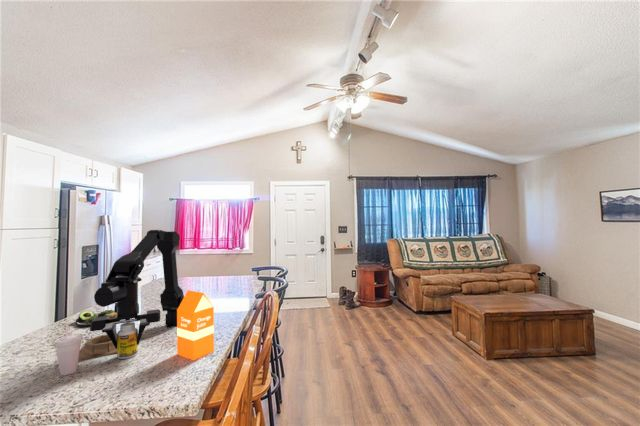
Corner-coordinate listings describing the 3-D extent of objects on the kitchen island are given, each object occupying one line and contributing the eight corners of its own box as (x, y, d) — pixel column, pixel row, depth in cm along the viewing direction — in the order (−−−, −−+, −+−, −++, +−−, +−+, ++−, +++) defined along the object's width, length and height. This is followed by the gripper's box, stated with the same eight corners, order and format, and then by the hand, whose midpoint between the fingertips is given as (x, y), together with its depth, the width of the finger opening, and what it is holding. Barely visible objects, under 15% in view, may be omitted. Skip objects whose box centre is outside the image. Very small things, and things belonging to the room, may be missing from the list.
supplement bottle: (116, 361, 92) (116, 328, 92) (117, 354, 97) (117, 323, 97) (138, 356, 95) (137, 324, 95) (137, 350, 100) (137, 319, 100)
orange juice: (193, 360, 92) (193, 295, 92) (176, 354, 96) (176, 292, 97) (214, 350, 98) (214, 290, 99) (197, 345, 103) (197, 287, 104)
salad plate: (124, 311, 147) (124, 302, 147) (132, 319, 134) (132, 309, 135) (74, 320, 134) (74, 310, 134) (78, 330, 121) (78, 319, 121)
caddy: (130, 339, 110) (130, 329, 110) (125, 351, 99) (125, 341, 99) (83, 347, 104) (83, 336, 104) (72, 361, 93) (72, 349, 93)
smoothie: (65, 367, 89) (65, 320, 89) (88, 365, 90) (88, 319, 90) (47, 378, 83) (48, 327, 83) (72, 376, 83) (72, 326, 84)
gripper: (161, 289, 108) (161, 332, 107) (98, 296, 100) (98, 343, 99) (159, 296, 98) (159, 344, 97) (89, 304, 90) (89, 356, 89)
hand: (127, 346), depth 96 cm, fingers closed on supplement bottle, 6 cm apart
